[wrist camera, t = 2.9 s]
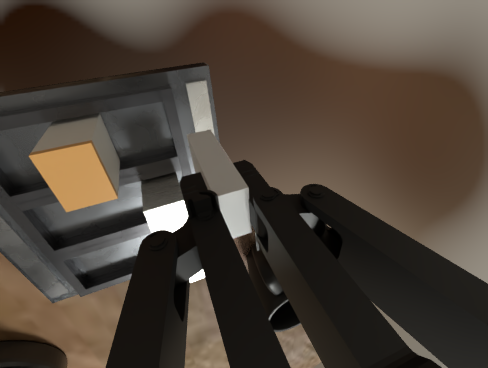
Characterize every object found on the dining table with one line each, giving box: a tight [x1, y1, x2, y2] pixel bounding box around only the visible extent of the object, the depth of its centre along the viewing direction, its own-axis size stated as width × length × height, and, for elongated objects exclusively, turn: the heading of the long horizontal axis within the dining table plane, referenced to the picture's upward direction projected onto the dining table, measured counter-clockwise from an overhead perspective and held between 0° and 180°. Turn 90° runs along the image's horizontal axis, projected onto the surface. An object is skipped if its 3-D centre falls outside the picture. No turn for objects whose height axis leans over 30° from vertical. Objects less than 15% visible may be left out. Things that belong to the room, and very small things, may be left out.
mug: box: [247, 243, 301, 332], centre depth 32 cm, size 8×12×10 cm
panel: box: [0, 63, 219, 303], centre depth 21 cm, size 20×20×6 cm
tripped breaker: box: [29, 113, 120, 212], centre depth 16 cm, size 3×4×5 cm
